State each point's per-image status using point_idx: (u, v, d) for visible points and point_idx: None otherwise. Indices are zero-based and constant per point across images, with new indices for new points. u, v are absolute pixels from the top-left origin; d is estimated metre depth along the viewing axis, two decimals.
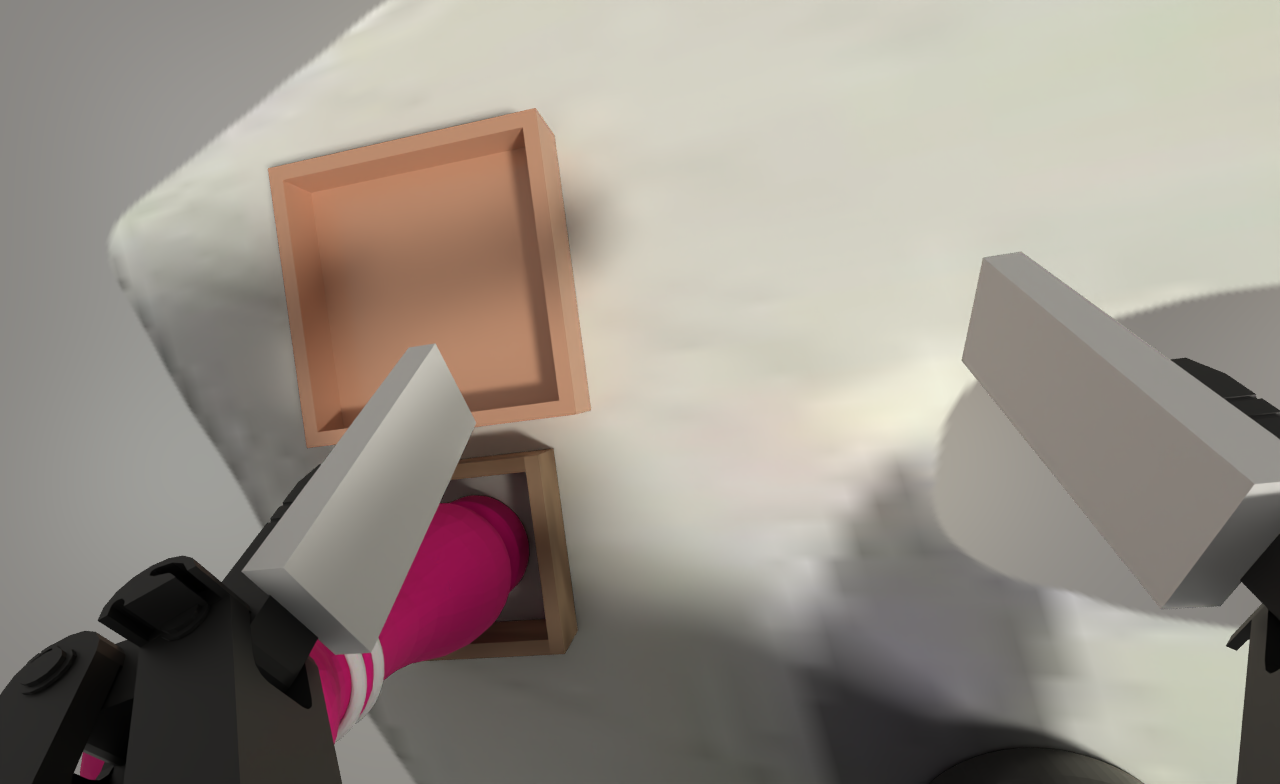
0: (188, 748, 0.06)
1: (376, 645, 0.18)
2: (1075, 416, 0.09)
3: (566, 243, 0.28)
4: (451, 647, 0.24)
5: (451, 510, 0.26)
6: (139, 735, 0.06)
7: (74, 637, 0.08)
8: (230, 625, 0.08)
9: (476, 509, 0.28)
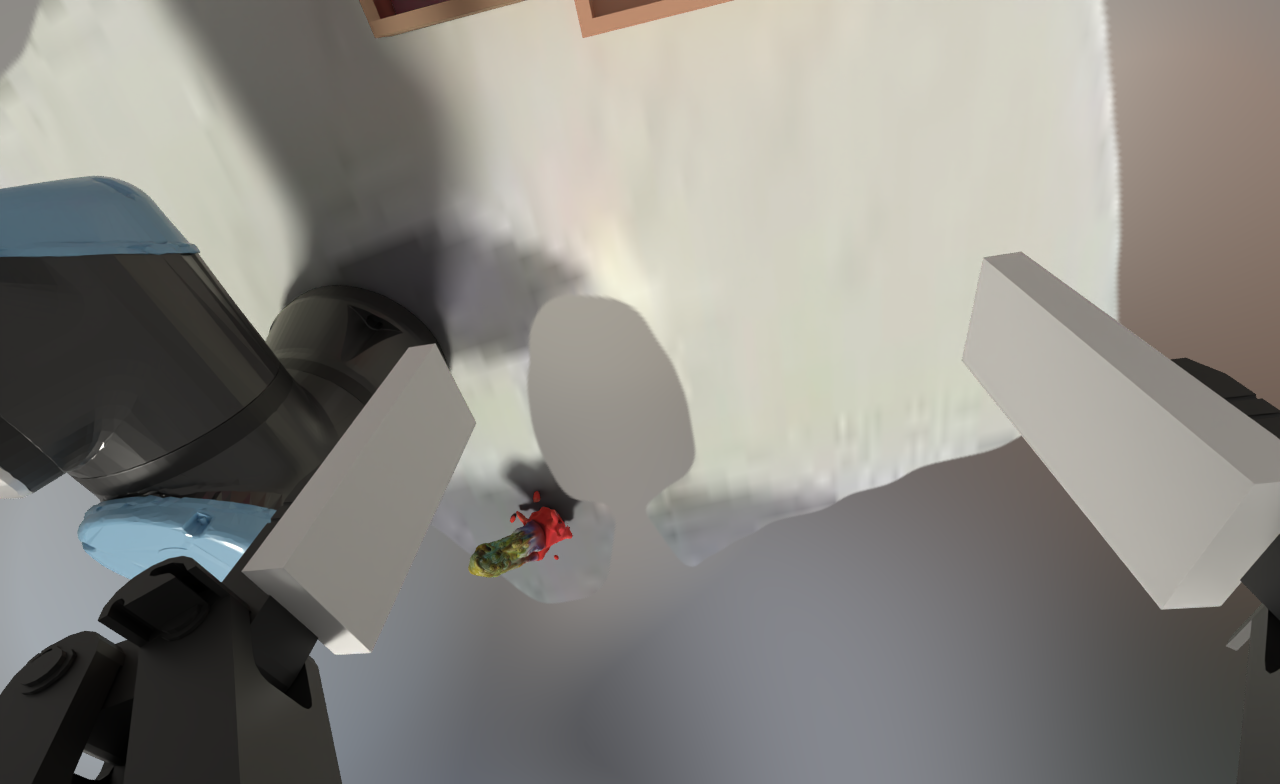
0: (188, 748, 0.06)
1: None
2: (1075, 416, 0.09)
3: None
4: None
5: None
6: (139, 735, 0.06)
7: (74, 637, 0.08)
8: (230, 625, 0.08)
9: None
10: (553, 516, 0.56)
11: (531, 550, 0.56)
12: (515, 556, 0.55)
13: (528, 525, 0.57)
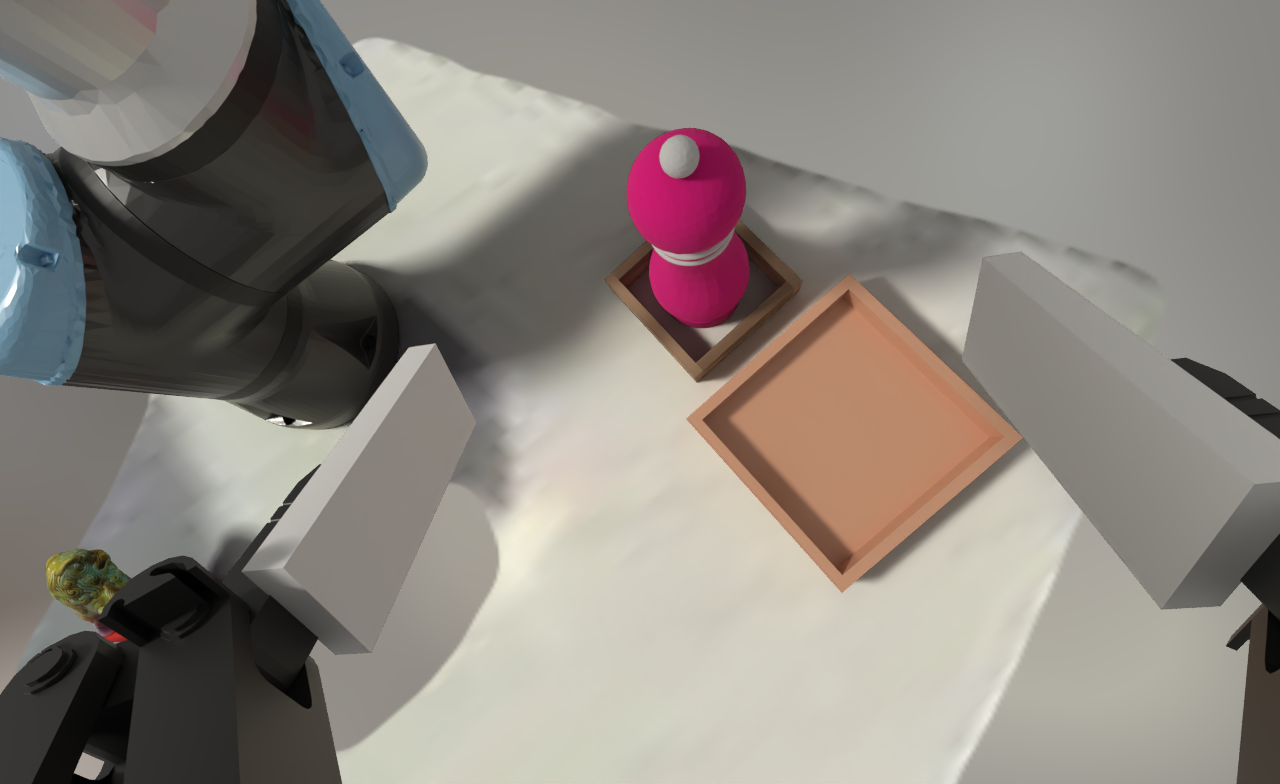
0: (188, 748, 0.06)
1: (664, 258, 0.29)
2: (1075, 416, 0.09)
3: None
4: (654, 250, 0.36)
5: (716, 314, 0.36)
6: (139, 735, 0.06)
7: (74, 636, 0.08)
8: (230, 625, 0.08)
9: None
10: None
11: None
12: (99, 605, 0.39)
13: None
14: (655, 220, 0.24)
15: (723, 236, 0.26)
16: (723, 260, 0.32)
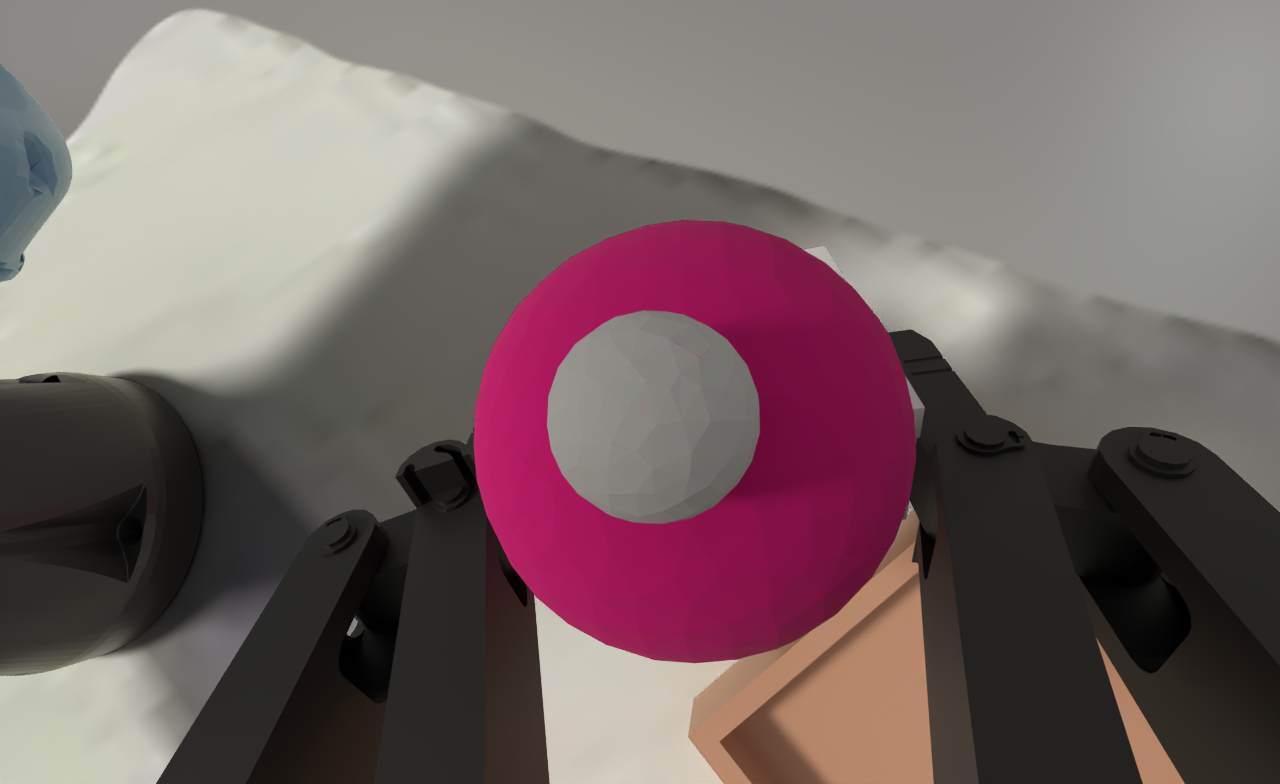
0: (447, 615, 0.07)
1: None
2: None
3: None
4: None
5: None
6: (412, 586, 0.07)
7: (357, 512, 0.09)
8: (484, 514, 0.08)
9: None
10: None
11: None
12: None
13: None
14: (561, 608, 0.06)
15: None
16: None
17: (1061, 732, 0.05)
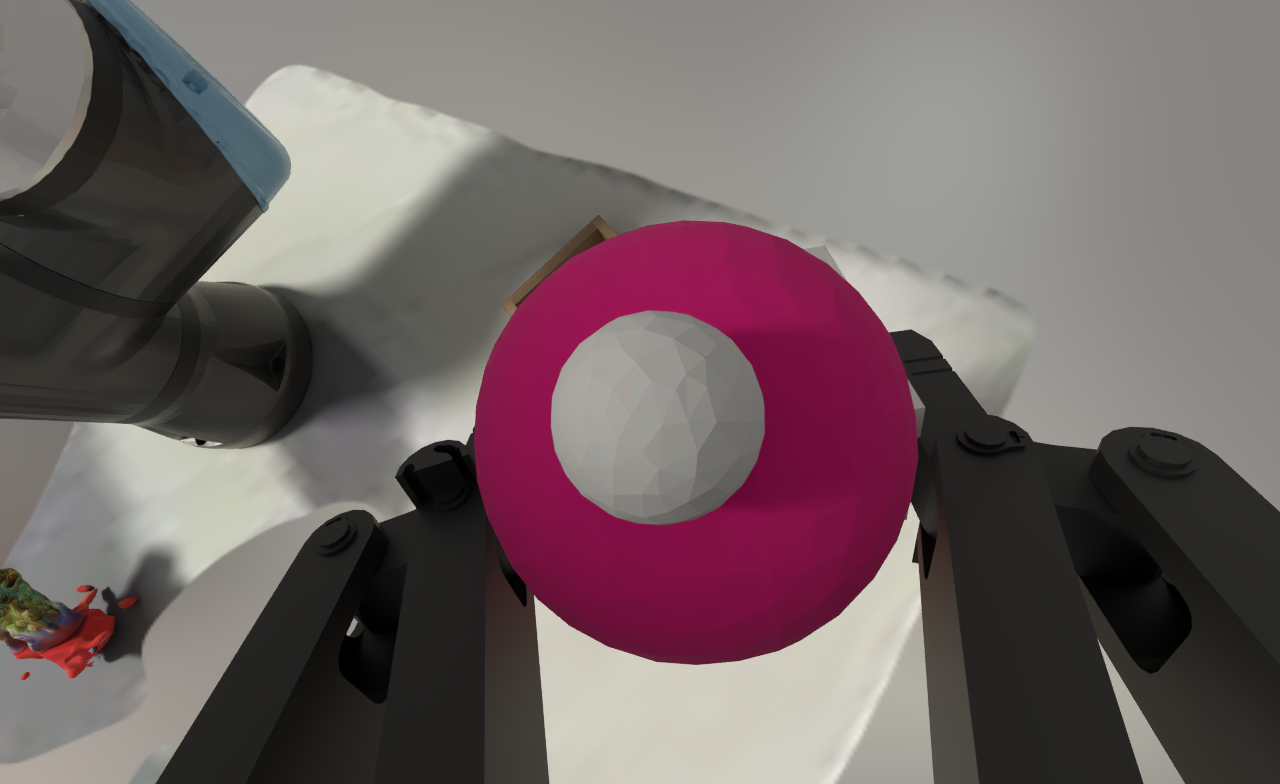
0: (446, 615, 0.07)
1: None
2: None
3: None
4: None
5: None
6: (411, 586, 0.07)
7: (357, 511, 0.09)
8: (484, 514, 0.08)
9: None
10: (97, 638, 0.42)
11: (26, 638, 0.41)
12: (6, 623, 0.40)
13: (72, 614, 0.43)
14: (563, 610, 0.06)
15: None
16: None
17: (1061, 732, 0.05)
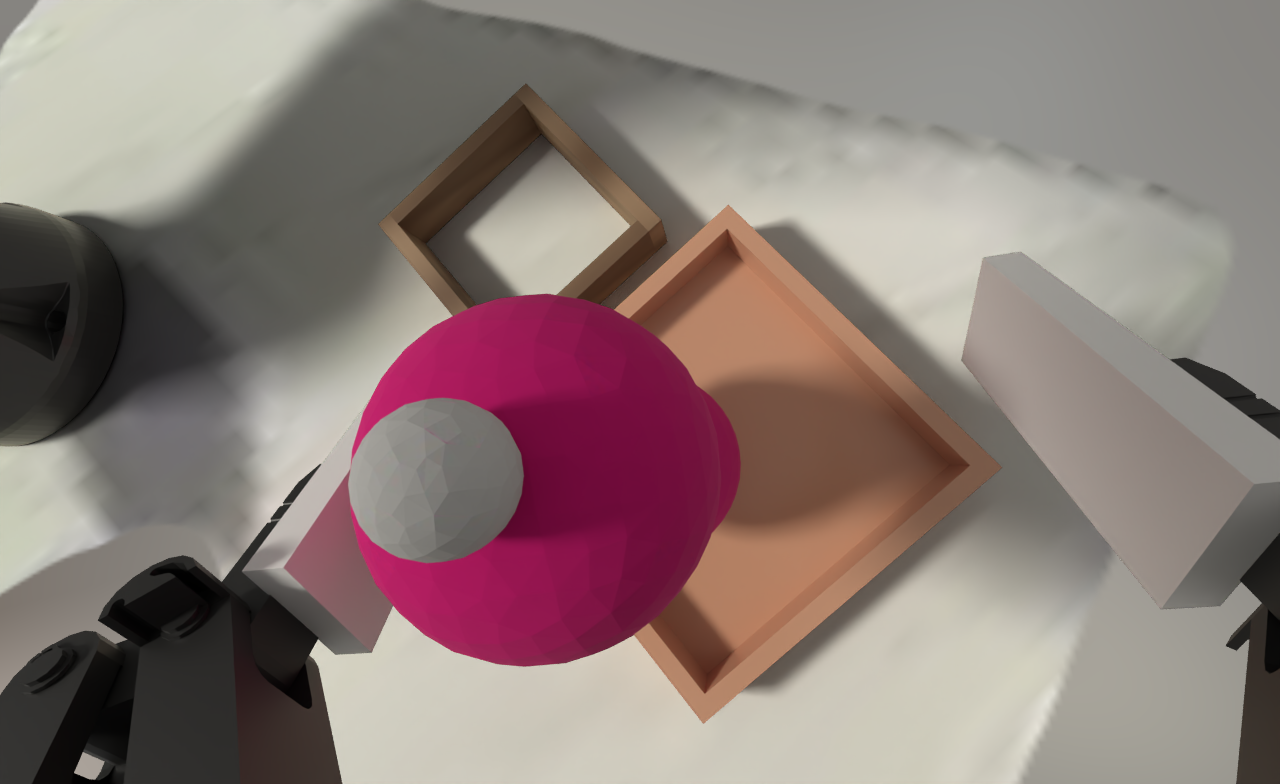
0: (188, 747, 0.06)
1: None
2: (1075, 416, 0.09)
3: None
4: None
5: None
6: (139, 734, 0.06)
7: (74, 637, 0.08)
8: (230, 625, 0.08)
9: None
10: None
11: None
12: None
13: None
14: (412, 622, 0.07)
15: None
16: None
17: None
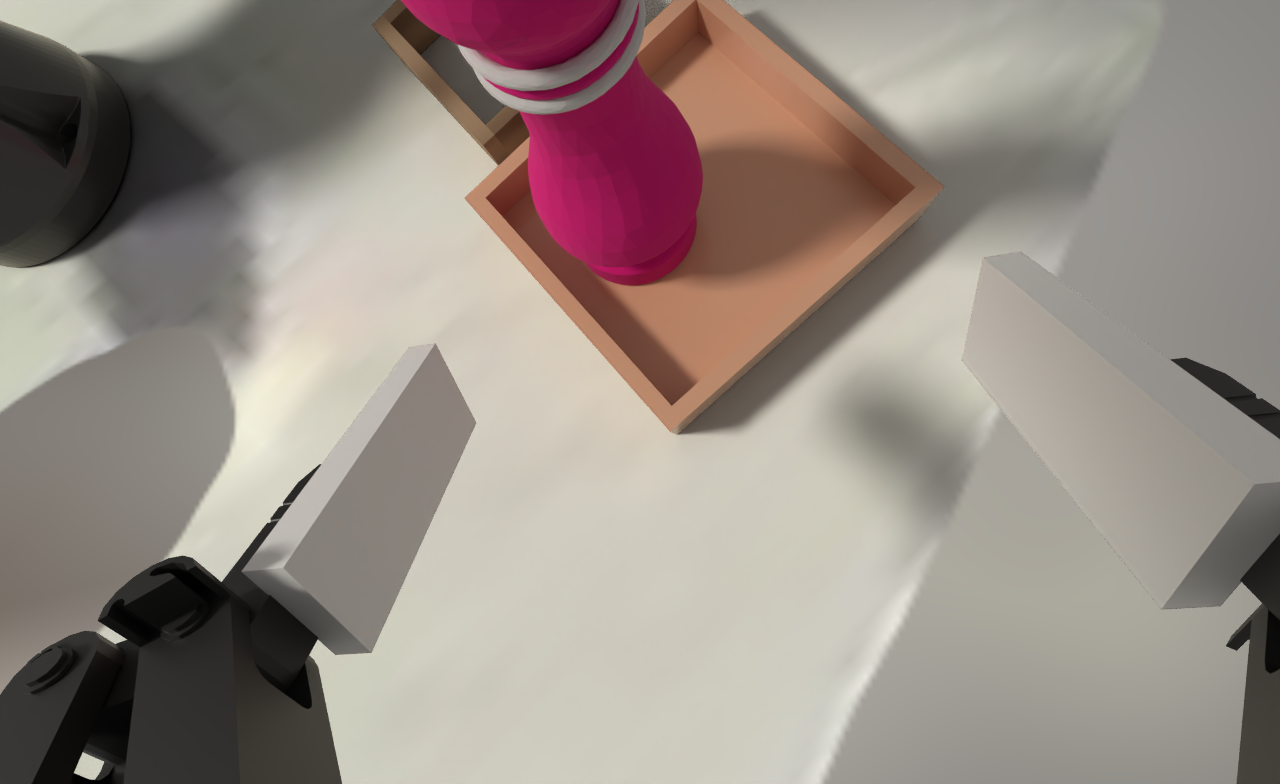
0: (188, 748, 0.06)
1: (499, 98, 0.14)
2: (1075, 416, 0.09)
3: None
4: None
5: (643, 251, 0.21)
6: (139, 735, 0.06)
7: (74, 636, 0.08)
8: (230, 625, 0.08)
9: (647, 264, 0.24)
10: None
11: None
12: None
13: None
14: None
15: None
16: (640, 129, 0.16)
17: None
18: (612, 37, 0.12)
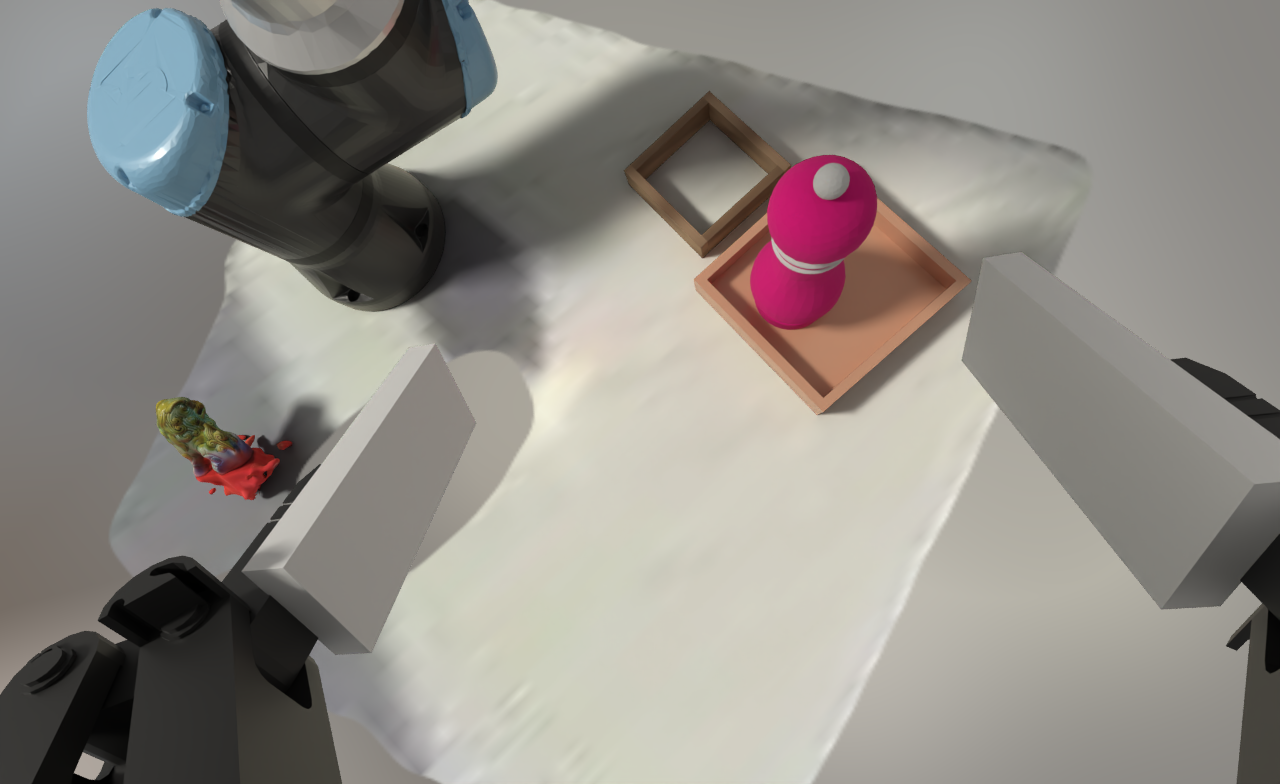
0: (188, 748, 0.06)
1: (789, 267, 0.33)
2: (1075, 416, 0.09)
3: (766, 362, 0.45)
4: (760, 259, 0.39)
5: (815, 317, 0.40)
6: (139, 735, 0.06)
7: (74, 637, 0.08)
8: (230, 625, 0.08)
9: None
10: (270, 463, 0.48)
11: (214, 457, 0.47)
12: (199, 443, 0.47)
13: (246, 444, 0.49)
14: (802, 235, 0.28)
15: (856, 248, 0.29)
16: (833, 268, 0.36)
17: None
18: None
